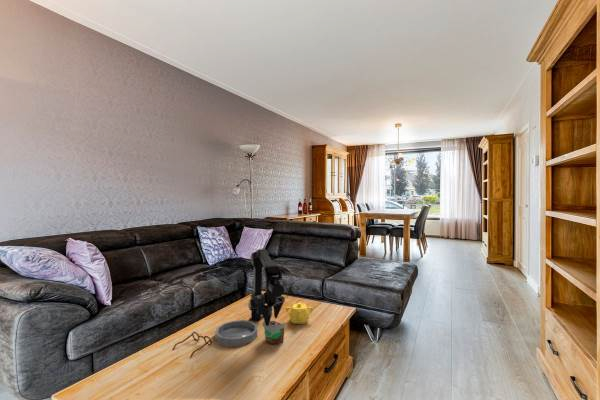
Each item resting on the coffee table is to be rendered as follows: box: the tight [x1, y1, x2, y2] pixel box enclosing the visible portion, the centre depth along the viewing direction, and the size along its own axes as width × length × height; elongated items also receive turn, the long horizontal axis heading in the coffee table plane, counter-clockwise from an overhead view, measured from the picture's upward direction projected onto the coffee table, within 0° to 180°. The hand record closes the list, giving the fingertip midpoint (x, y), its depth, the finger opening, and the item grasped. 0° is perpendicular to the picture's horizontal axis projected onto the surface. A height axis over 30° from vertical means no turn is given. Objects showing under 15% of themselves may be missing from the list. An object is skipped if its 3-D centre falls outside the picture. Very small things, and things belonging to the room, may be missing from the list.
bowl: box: [214, 319, 258, 347], centre depth 151 cm, size 21×21×4 cm
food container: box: [262, 320, 287, 346], centre depth 144 cm, size 12×6×10 cm, turn 62°
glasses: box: [171, 331, 212, 359], centre depth 139 cm, size 13×13×5 cm
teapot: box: [285, 301, 314, 325], centre depth 168 cm, size 14×13×10 cm
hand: (271, 321), depth 144 cm, fingers open, 9 cm apart
